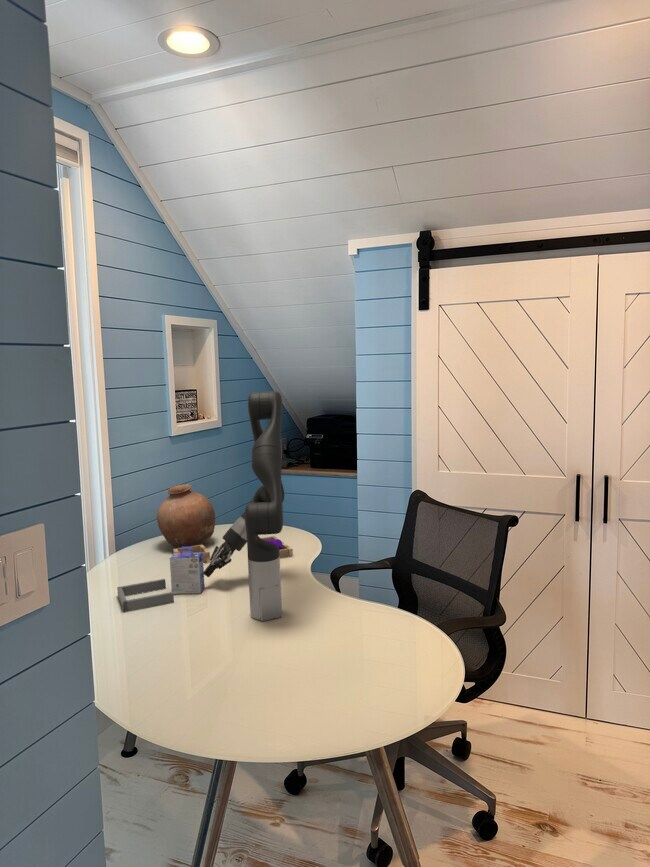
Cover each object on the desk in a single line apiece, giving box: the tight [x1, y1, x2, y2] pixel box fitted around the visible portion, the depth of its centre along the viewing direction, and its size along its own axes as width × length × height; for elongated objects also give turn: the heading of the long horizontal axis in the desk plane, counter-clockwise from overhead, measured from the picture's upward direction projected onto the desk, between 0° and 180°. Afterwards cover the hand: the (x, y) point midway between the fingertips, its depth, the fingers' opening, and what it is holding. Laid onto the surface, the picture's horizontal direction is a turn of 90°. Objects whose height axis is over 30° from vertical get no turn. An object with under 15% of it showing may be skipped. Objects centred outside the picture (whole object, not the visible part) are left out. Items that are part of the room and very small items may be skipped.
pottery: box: [156, 484, 216, 548], centre depth 244 cm, size 23×23×25 cm
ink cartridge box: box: [169, 546, 206, 595], centre depth 195 cm, size 10×6×14 cm, turn 89°
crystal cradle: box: [260, 535, 294, 559], centre depth 234 cm, size 20×10×3 cm, turn 26°
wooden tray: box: [172, 544, 211, 564], centre depth 226 cm, size 11×11×4 cm
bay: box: [117, 578, 175, 613], centre depth 190 cm, size 14×15×3 cm
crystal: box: [265, 538, 283, 550], centre depth 235 cm, size 5×5×15 cm
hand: (205, 575), depth 198 cm, fingers closed
